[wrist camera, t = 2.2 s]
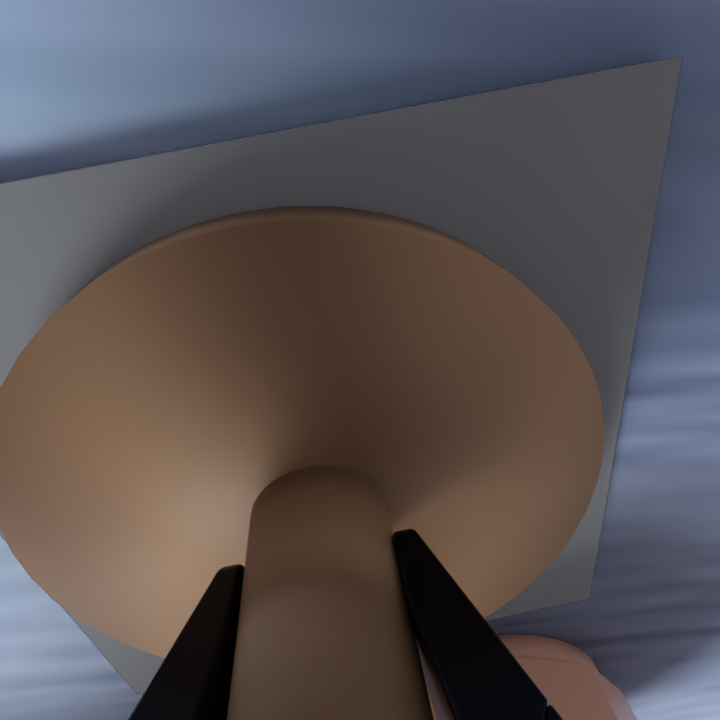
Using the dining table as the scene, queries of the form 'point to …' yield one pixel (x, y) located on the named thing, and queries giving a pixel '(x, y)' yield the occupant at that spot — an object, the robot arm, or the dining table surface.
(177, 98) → the dining table surface
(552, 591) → the mat
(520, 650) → the bowl
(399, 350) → the lid
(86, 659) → the dining table surface
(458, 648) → the robot arm
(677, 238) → the dining table surface
